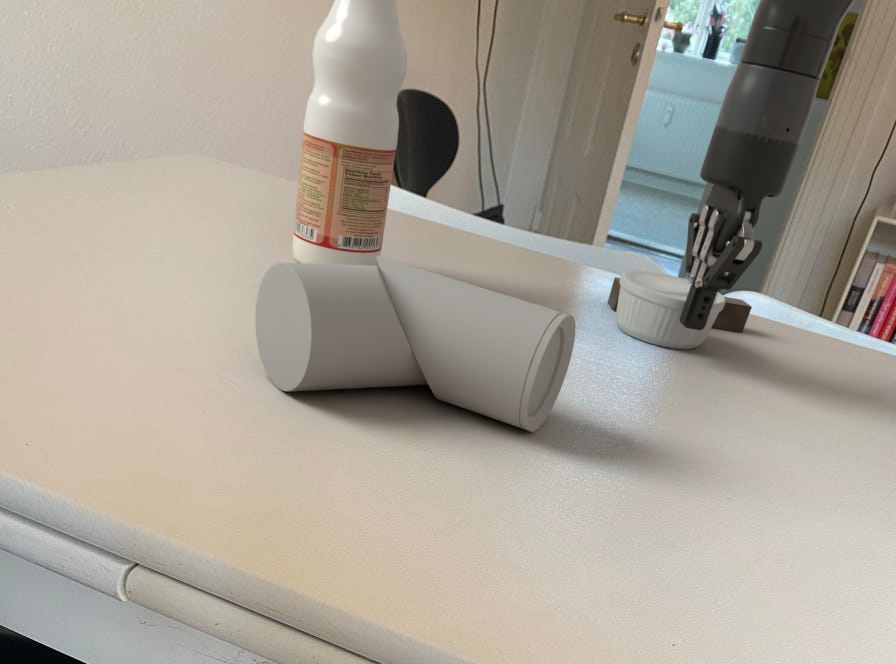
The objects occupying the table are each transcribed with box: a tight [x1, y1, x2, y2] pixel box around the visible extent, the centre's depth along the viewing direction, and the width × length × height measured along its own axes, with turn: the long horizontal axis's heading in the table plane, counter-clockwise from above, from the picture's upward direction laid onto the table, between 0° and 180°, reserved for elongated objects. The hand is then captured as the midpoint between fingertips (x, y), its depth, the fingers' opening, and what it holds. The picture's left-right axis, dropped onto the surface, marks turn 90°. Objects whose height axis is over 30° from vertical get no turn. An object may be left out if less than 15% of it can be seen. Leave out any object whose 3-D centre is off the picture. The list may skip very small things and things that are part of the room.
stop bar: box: [606, 277, 752, 333], centre depth 105 cm, size 16×3×3 cm, turn 94°
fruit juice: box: [292, 0, 408, 266], centre depth 90 cm, size 9×9×28 cm
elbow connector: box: [254, 255, 576, 433], centre depth 65 cm, size 18×11×20 cm
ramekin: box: [615, 269, 726, 350], centre depth 96 cm, size 11×11×5 cm
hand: (690, 326), depth 90 cm, fingers closed
